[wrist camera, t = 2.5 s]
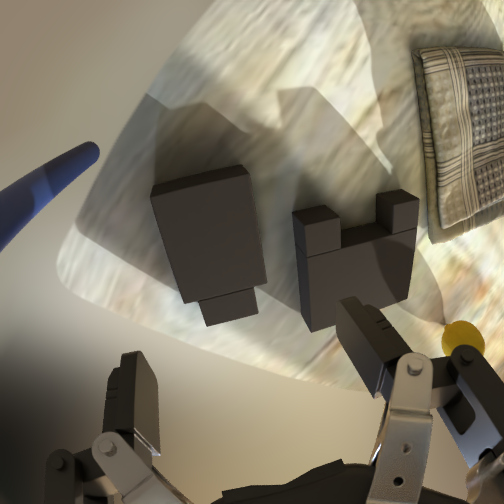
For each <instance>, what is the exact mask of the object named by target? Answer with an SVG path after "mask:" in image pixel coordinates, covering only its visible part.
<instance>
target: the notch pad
mask: <svg viewBox="0 0 504 504" xmlns="http://www.w3.org/2000/svg"><path fill="white" fill-rule="evenodd" d="M419 200H420V199H419V198H417V197H415V196H413V195H412V194H410V193H408V192H406V191H404V190H402V189H399V190H394V191H389V192H384V193H379V194H376V222H375V223H371V224H367V225H363V226H359V227H355V228H351V229H347V230H342V231H340V216H338V215H337V214H336V213H335V212H333V211H332V210H331V209H330V208H329V207H327V206H326V205H322V206H317V207H313V208H308V209H304V210H299V211H295V212H292V218H293V227H294V237H295V246H296V257H297V267H298V279H299V291H300V303H301V315H302V317H303V319H304V321H305V322H306V324H307V326H308V328H309V330H310V332H311V333H312V332H315V331H318V330H321V329H325V328H328V327H331V326H334V325H336V303H337V301H339V300H342V299H345V298H349V297H352V296H356V297H357V298H358V300H359V301H360V302H361V303H362V305H363V306H364V305H367V304H370V305H372V306H374V307H375V308H377V309H382V308H385V307H387V306H390V305H392V304H395V303H398V302H400V301H403V300H405V299H407V297H408V292H409V286H410V280H411V273H412V267H413V260H414V252H415V244H416V235H417V225H418V214H419Z"/></svg>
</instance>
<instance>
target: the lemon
mask: <svg viewBox="0 0 504 504" xmlns="http://www.w3.org/2000/svg"><path fill="white" fill-rule="evenodd" d="M441 343H442V349H443V352H444V354H445V355H446V356H450V355H451V353H452V351H453V349H454V348H455V347H457V346H459V345H462V344H467V345H471V346H473V347H475V348H476V349H478V350H479V352H480V353H481V354H482V355H484V352H485V342H484V339H483V337H482V335H481V333H480V332H479V330H478V329H477V328H476V327H475V326H474V325H473V324H471V323H469V322H467V321H456V322H453V323H452V324H447V325H446V326H445V331H444V333H443V336H442V341H441Z"/></svg>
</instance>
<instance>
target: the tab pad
mask: <svg viewBox="0 0 504 504" xmlns="http://www.w3.org/2000/svg"><path fill="white" fill-rule="evenodd" d="M150 200H151V204H152V207H153V211H154V214H155V217H156V221H157V224H158V227H159V230H160V234H161V237H162V240H163V243H164V246H165V249H166V253H167V256H168V259H169V262H170V265H171V268H172V271H173V274H174V277H175V279H176V282H177V285H178V288H179V291H180V294H181V297H182V299H183V302H184V304H187V303H191V302H195V301H198V303H199V306H200V309H201V312H202V315H203V318H204V321H205V324H206V326H207V327H208V326H212V325H216V324H220V323H224V322H228V321H232V320H236V319H240V318H244V317H248V316H251V315H255V314H258V307H257V302H256V297H255V292H254V287H255V286H259V285H263V284H266V283H267V278H266V272H265V266H264V259H263V253H262V247H261V241H260V234H259V228H258V222H257V216H256V210H255V204H254V198H253V192H252V185H251V179H250V174H249V172H248V171H247V170H246V169H245V168H244V167H243V166H242V165H236V166H232V167H227V168H222V169H218V170H213V171H209V172H205V173H201V174H196V175H192V176H188V177H184V178H180V179H176V180H172V181H168V182H165V183H161V184H157V185H154V186H153V188H152V191H151V195H150Z"/></svg>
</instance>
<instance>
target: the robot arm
mask: <svg viewBox="0 0 504 504" xmlns="http://www.w3.org/2000/svg"><path fill="white" fill-rule="evenodd" d="M336 333H337V337H338V339H339V341H340V343H341V345H342V346H343V348H344V350H345V351H346V353H347V355H348V356H349V358H350V360H351V361H352V363H353V365H354V366H355V368H356V370H357V371H358V373H359V375H360V376H361V378H362V380H363V382H364V383H365V385H366V387H367V388H368V390H369V392H370V393H371V395H372V397H373V398H374V399H376V398H378V397H381V396H383V398H384V399H385V401H386V402H385V405H384V410H383V415H382V419H381V423H380V427H379V431H378V435H377V439H376V443H375V446H374V449H373V452H372V455H371V458H370V461H369V464H368V465H366V464H357V463H354V464H344V463H343V461H342V459H339V460H336V461H334V462H331V463H328V464H325V465H322V466H319V467H316V468H313V469H311V470H310V471H308V472H306V473H305V474H303V475H301V476H299V477H298V478H296V479H294V480H292V481H290V482H289V483H286V484H283V485H251V486H246V487H241V488H236V489H231V490H226V491H222V495H223V497H222V498H220V499H218V500H216V501H214V502H213V503H211V504H504V383H503V381H502V380H501V379H500V377H499V376H498V375H497V373H496V372H495V371H494V369H493V368H492V367H491V366H490V364H489V363H488V362H487V360H486V359H485V358H484V357H483V355H482V354H481V353H480V352H479V350H478V349H476V348H475V347H473V346H471V345H467V344H462V345H459V346H457V347H455V348H454V349H453V351H452V353H451V355H450V356H446V357H440V358H434V359H429V358H428V357H427V356H425V355H423V354H421V353H416V352H413V351H412V350H411V349H410V347H409V346H408V345H407V344H406V342H405V341H404V340H403V338H402V337H401V336H400V335H399V333H398V332H397V331H396V330H395V328H394V327H392V325H391V323H390V322H389V321H388V320H387V319H386V317H385V316H384V315H383V314H382V312H381V311H380V310H379V309H377V308H375V307H374V306H372V305H370V304H367V305H364V306H363V305H362V303H361V302H360V301H359V300H358V298H357V297H356V296H352V297H349V298H345V299H342V300H339V301H337V303H336ZM433 408H436V409H437V411H438V413H439V414H440V416H441V418H442V419H443V421H444V423H445V425H446V426H447V428H448V430H449V431H450V433H451V435H452V437H453V439H454V440H455V442H456V444H457V446H458V448H459V449H460V451H461V453H462V455H463V457H464V459H465V461H466V462H467V464H468V466H469V468H470V470H469V472H468V473H467V476H466V486H467V489H468V497H467V500H466V501H465V500H462V499H459V498H456V497H452V496H449V495H446V494H443V493H440V492H437V491H434V490H432V489H429V488H426V487H424V486H422V483H423V478H424V473H425V468H426V463H427V457H428V452H429V446H430V439H431V431H432V424H433V416H432V415H430V409H433ZM158 455H161V453H160V437H159V409H158V384H157V379H156V377H155V374H154V372H153V371H152V369H151V367H150V366H149V364H148V362H147V360H146V359H145V357H144V355H143V353H142V352H141V351H134V352H129V353H124V354H122V356H121V363H120V367H118V368H114V369H113V371H112V373H111V375H110V376H109V378H108V385H107V392H106V400H105V409H104V419H103V431H102V434H101V435H99V436H98V437H97V438H96V439H95V440H94V442H93V444H92V447H91V448H89V449H86V450H84V451H81V452H78V453H75V454H71V453H70V452H69V451H67V450H65V449H58V450H56V451H54V452H52V453H51V454H50V456H49V457H48V459H47V462H46V475H45V499H44V504H114V498H113V494H115V493H118V492H120V494H121V495H122V497H123V498H122V501H123V503H124V504H194V503H193V502H191V501H190V500H189V499H188V498H186V497H185V496H184V495H183V494H182V493H181V492H179V491H178V490H177V489H176V488H175V487H174V486H173V485H172V484H171V483H170V482H169V481H168V480H167V479H165V477H164V476H163V475H162V474H161V473H160V472H159V471H158V470H157V469H156V468H155V467H154V466H153V465H152V456H158Z"/></svg>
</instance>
